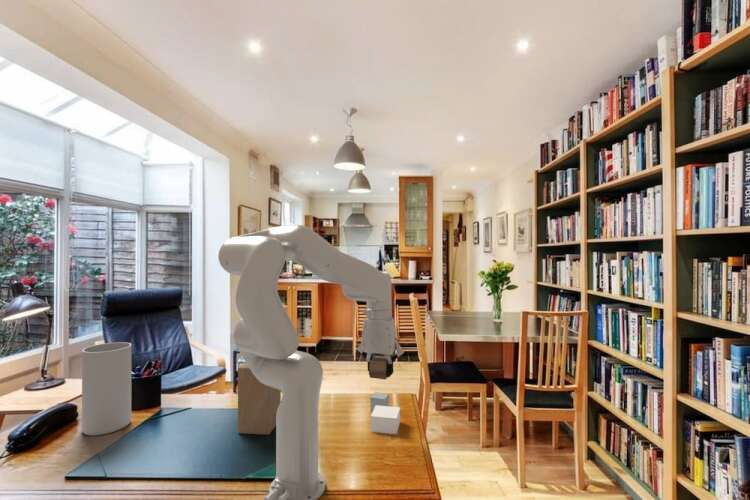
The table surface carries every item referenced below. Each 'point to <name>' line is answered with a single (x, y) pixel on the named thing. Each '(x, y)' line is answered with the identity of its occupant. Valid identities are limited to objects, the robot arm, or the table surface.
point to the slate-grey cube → (379, 400)
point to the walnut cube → (378, 367)
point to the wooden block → (256, 404)
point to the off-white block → (385, 419)
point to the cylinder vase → (106, 388)
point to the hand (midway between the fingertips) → (380, 374)
